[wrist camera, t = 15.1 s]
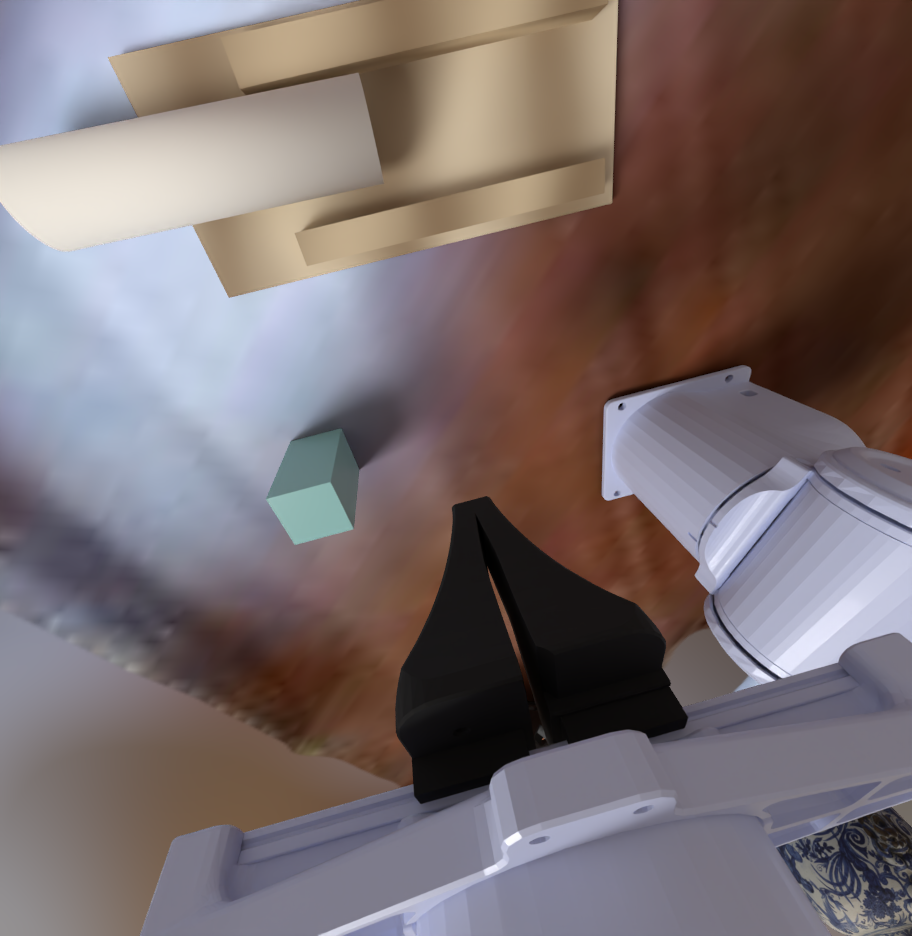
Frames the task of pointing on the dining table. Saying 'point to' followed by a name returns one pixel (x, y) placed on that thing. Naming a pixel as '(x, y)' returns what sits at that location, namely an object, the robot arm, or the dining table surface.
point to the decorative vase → (858, 874)
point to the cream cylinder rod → (191, 164)
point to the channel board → (411, 123)
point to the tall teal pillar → (316, 487)
